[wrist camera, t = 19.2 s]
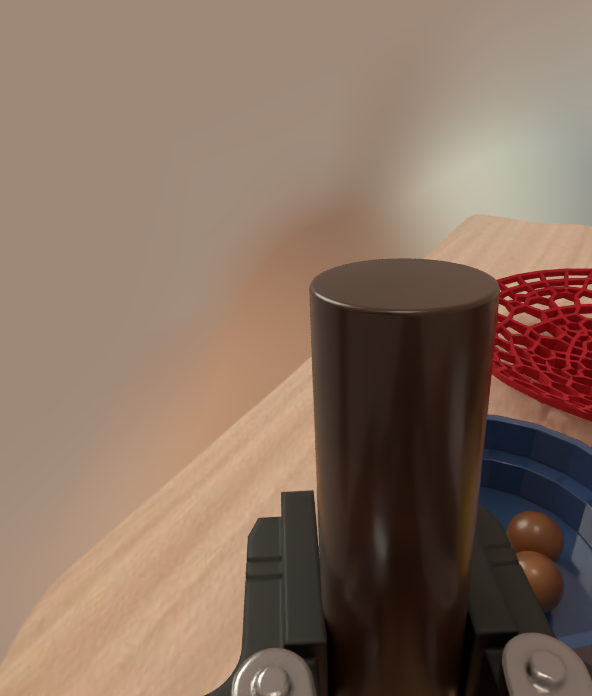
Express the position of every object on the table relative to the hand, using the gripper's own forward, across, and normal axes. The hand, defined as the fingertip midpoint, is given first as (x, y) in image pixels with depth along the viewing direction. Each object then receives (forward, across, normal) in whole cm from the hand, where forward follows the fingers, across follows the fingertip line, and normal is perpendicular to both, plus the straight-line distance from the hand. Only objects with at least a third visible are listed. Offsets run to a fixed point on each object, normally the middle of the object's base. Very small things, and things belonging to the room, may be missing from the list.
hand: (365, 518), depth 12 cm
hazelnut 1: (+13, -12, +16) cm, 23 cm away
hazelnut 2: (+10, -10, +16) cm, 21 cm away
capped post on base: (-4, 0, +9) cm, 10 cm away
